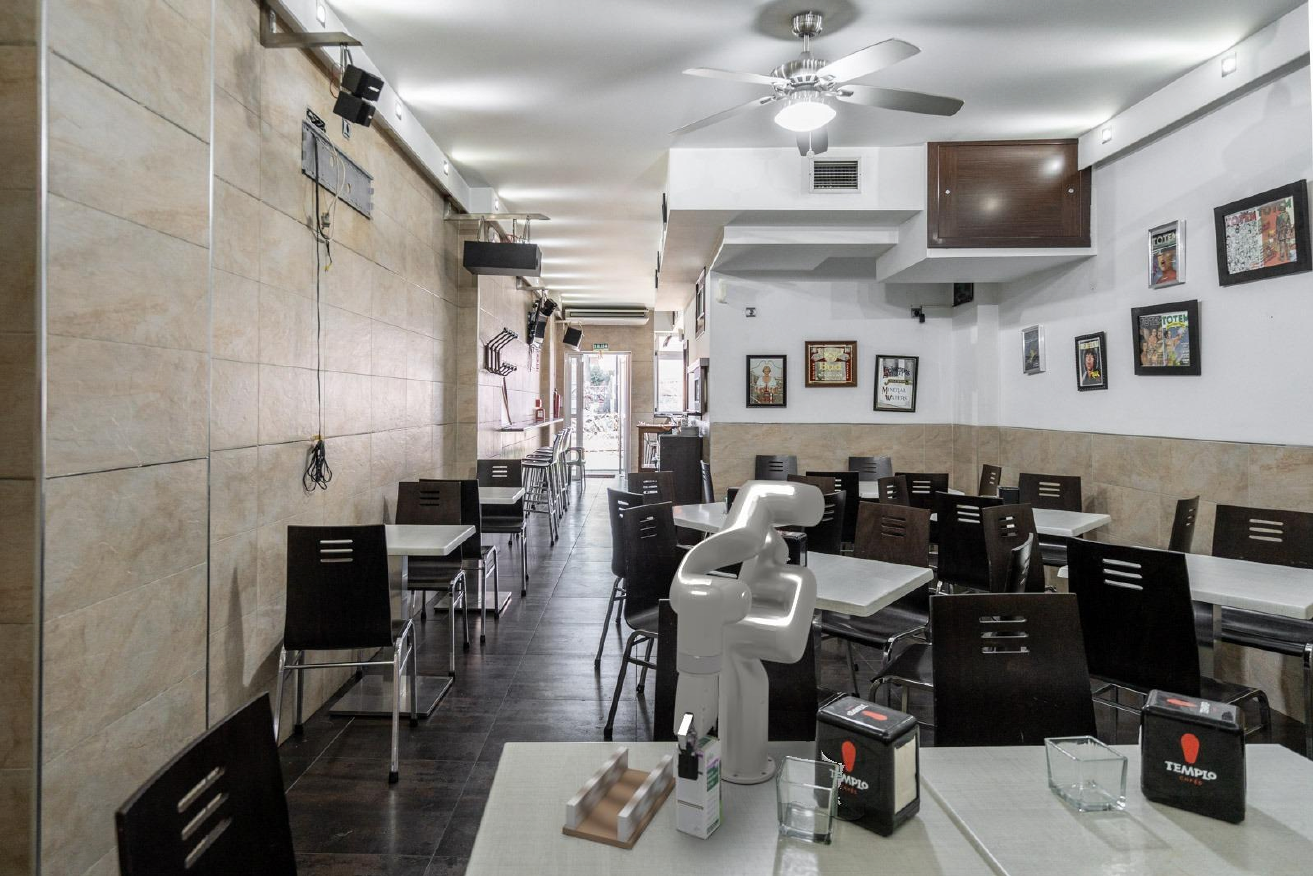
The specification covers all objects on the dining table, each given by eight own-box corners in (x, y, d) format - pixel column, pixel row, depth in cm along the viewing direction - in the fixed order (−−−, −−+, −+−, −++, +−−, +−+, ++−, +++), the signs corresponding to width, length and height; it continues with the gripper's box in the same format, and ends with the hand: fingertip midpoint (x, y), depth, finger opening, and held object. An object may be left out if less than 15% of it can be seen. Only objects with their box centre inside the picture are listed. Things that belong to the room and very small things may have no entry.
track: (617, 771, 137) (617, 745, 137) (676, 783, 133) (676, 756, 133) (562, 833, 117) (562, 803, 117) (630, 849, 112) (630, 818, 112)
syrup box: (706, 841, 115) (707, 751, 115) (674, 829, 118) (675, 742, 118) (722, 824, 120) (723, 738, 119) (691, 813, 123) (691, 730, 123)
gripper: (693, 644, 127) (691, 740, 127) (659, 674, 111) (657, 784, 111) (735, 649, 125) (733, 748, 125) (706, 681, 109) (703, 794, 109)
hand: (697, 765), depth 118 cm, fingers open, 9 cm apart
